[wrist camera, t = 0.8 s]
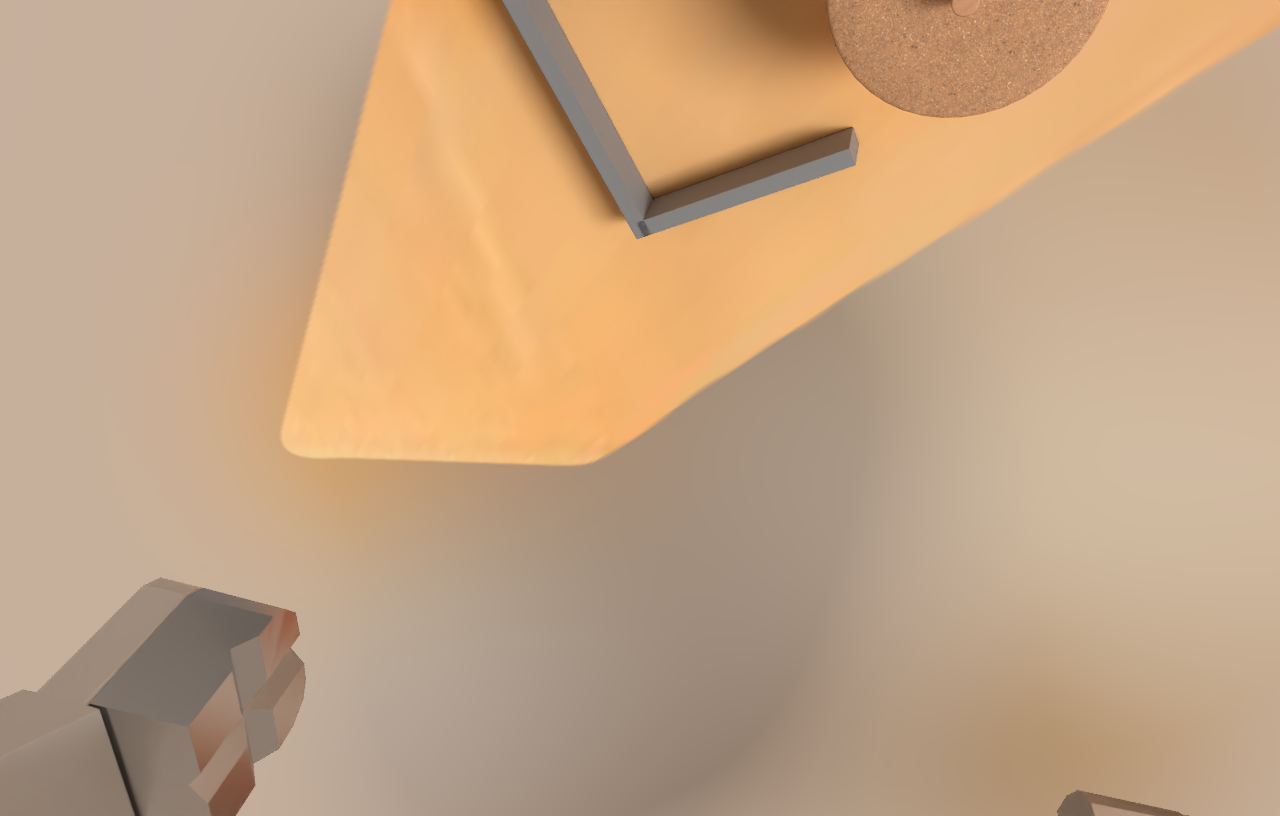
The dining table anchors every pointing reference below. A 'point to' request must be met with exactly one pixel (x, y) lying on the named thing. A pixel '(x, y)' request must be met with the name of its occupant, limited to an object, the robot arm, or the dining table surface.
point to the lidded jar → (959, 49)
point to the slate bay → (616, 163)
